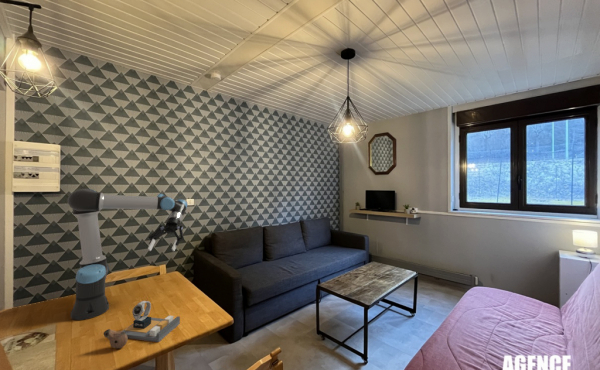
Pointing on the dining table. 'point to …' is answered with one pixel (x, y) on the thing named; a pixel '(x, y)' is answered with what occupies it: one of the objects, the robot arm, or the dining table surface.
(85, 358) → the dining table surface
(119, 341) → the oil lamp
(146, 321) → the watch
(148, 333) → the board
